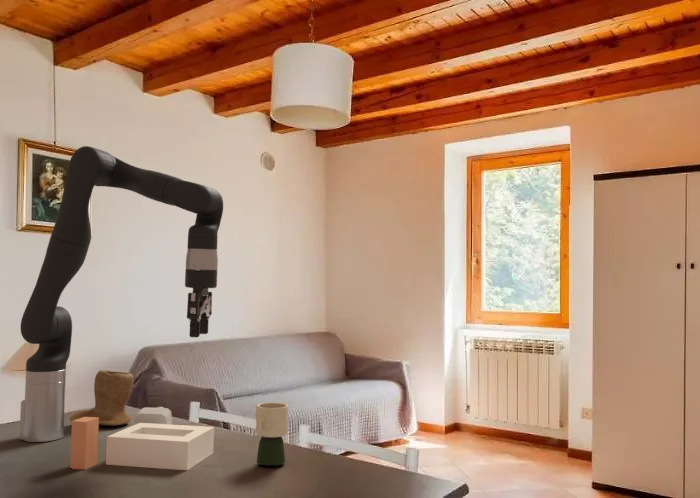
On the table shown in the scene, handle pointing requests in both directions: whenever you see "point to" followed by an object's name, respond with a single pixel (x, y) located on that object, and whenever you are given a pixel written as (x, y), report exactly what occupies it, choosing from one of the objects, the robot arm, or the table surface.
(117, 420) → the brown boot-shaped piece
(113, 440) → the well block
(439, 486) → the table surface
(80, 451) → the orange block
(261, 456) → the character mug
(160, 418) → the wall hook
